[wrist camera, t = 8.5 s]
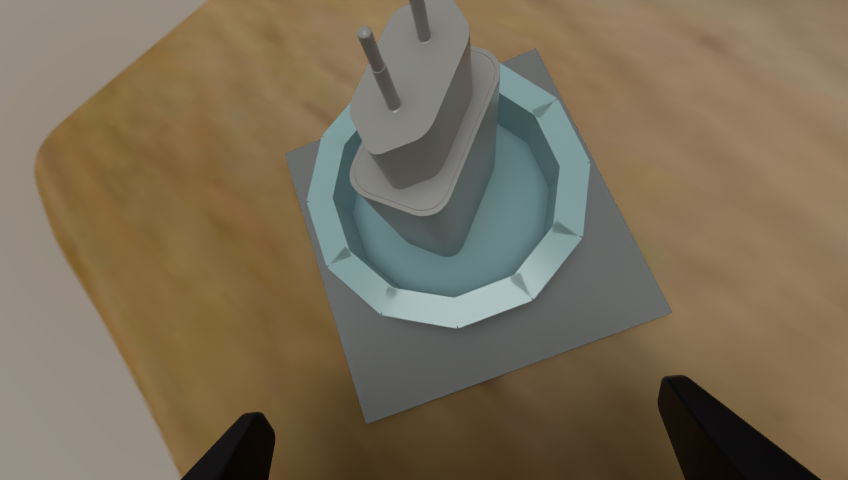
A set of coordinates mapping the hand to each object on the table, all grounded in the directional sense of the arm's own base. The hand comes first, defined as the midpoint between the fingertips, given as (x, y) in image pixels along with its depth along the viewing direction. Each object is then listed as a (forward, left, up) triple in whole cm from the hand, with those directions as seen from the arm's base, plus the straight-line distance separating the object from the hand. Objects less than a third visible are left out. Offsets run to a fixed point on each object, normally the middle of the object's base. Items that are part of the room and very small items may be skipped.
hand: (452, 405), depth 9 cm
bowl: (+7, -2, -9) cm, 11 cm away
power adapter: (+7, -2, -8) cm, 11 cm away
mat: (+6, -2, -9) cm, 11 cm away
